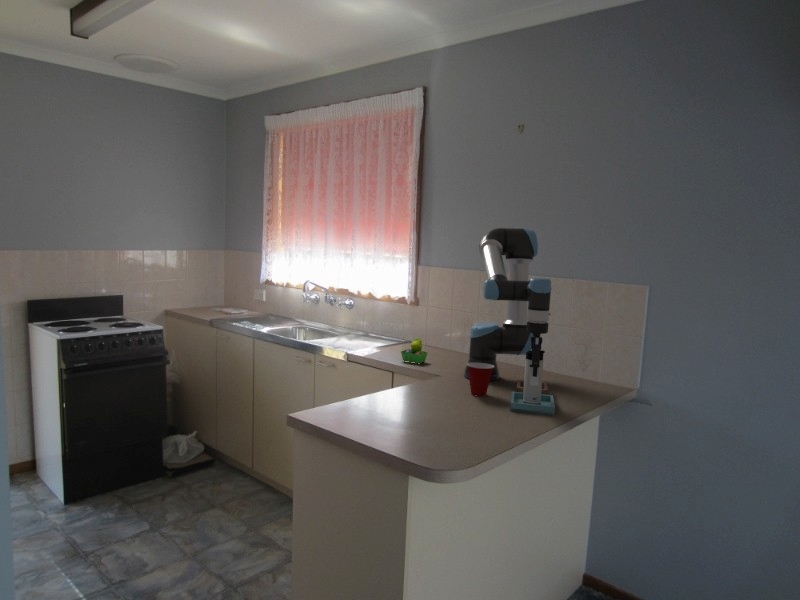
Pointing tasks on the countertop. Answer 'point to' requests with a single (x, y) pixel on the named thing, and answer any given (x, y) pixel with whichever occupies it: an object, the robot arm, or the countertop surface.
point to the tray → (545, 407)
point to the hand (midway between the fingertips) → (533, 380)
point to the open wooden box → (521, 387)
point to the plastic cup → (479, 377)
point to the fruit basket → (415, 352)
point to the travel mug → (530, 391)
